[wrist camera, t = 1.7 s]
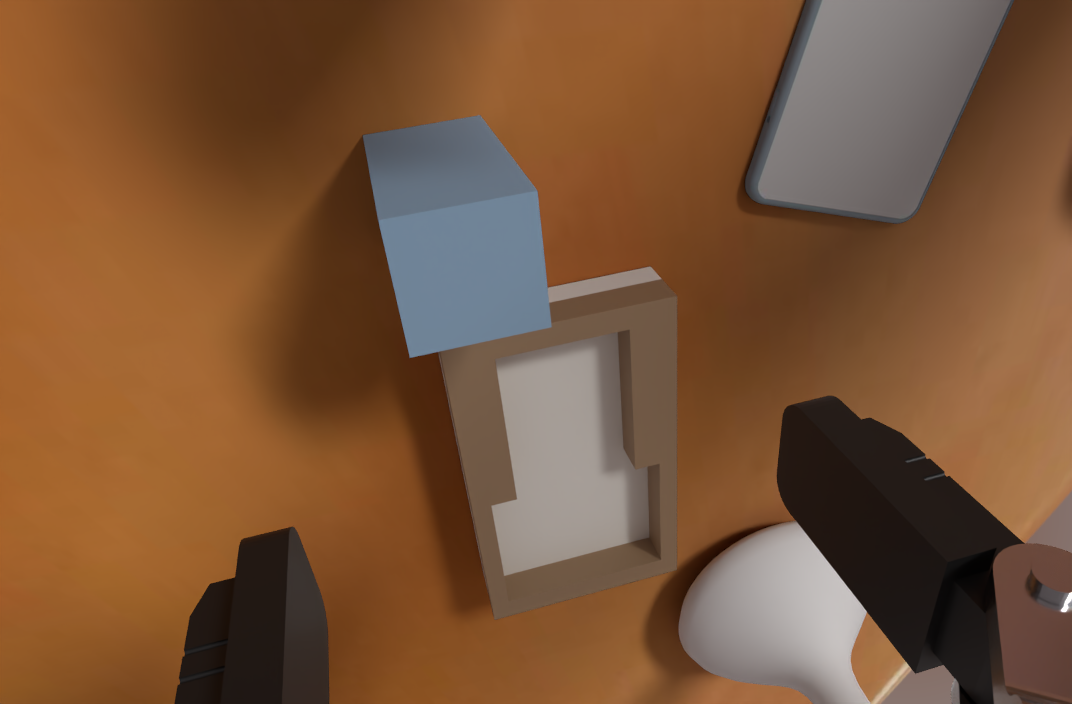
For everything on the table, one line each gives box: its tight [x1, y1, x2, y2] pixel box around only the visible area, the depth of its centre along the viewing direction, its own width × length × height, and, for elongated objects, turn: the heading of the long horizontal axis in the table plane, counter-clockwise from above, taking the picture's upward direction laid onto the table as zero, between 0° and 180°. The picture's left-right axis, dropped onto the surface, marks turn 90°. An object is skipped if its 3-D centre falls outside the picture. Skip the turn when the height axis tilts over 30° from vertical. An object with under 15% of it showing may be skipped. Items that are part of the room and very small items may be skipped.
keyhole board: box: [438, 267, 677, 620], centre depth 32 cm, size 9×15×3 cm, turn 6°
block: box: [363, 115, 552, 358], centre depth 23 cm, size 4×4×8 cm
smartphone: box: [745, 0, 1014, 224], centre depth 27 cm, size 8×1×15 cm
